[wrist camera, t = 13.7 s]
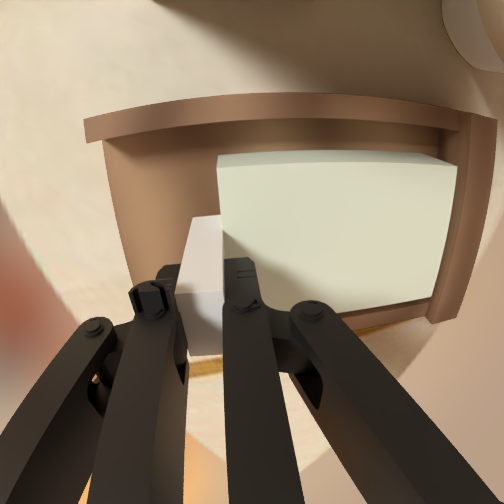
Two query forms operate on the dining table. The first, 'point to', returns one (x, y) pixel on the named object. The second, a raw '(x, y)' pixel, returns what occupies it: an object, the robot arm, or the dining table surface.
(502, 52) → the coffee cup
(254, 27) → the dining table surface
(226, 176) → the block
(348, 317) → the wooden tray
